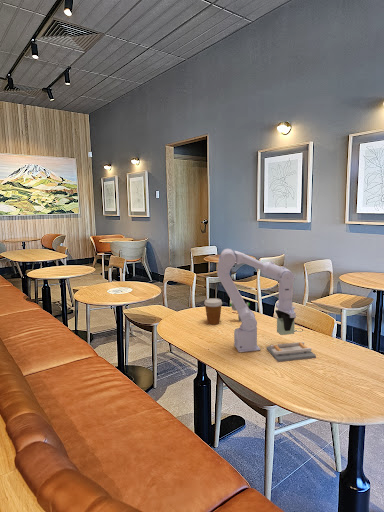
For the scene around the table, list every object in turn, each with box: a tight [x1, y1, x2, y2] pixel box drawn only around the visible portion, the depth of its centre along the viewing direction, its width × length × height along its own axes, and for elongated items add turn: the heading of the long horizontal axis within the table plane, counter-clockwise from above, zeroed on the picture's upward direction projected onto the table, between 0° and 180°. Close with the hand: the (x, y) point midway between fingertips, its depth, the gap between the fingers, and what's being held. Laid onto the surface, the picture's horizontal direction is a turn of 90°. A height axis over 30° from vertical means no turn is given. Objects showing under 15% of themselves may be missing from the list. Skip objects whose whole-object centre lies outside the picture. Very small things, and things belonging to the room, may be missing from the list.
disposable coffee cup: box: [203, 297, 223, 326], centre depth 175 cm, size 10×10×12 cm
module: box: [276, 317, 295, 336], centre depth 142 cm, size 6×4×6 cm, turn 100°
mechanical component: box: [229, 301, 251, 322], centre depth 176 cm, size 3×10×10 cm, turn 89°
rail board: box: [265, 341, 317, 363], centre depth 138 cm, size 16×12×3 cm
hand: (285, 328), depth 142 cm, fingers closed on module, 4 cm apart
